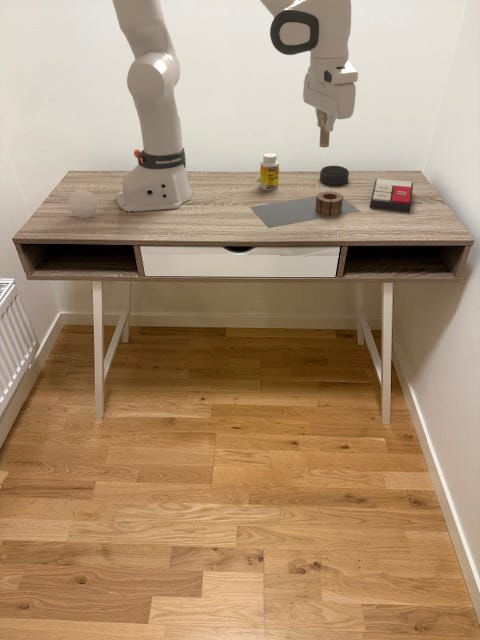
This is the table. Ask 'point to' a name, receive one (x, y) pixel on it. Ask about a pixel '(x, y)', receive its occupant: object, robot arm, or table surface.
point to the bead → (329, 203)
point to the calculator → (392, 195)
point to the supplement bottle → (269, 172)
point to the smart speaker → (334, 175)
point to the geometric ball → (83, 204)
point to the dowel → (324, 134)
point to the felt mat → (295, 211)
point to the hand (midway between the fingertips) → (325, 129)
